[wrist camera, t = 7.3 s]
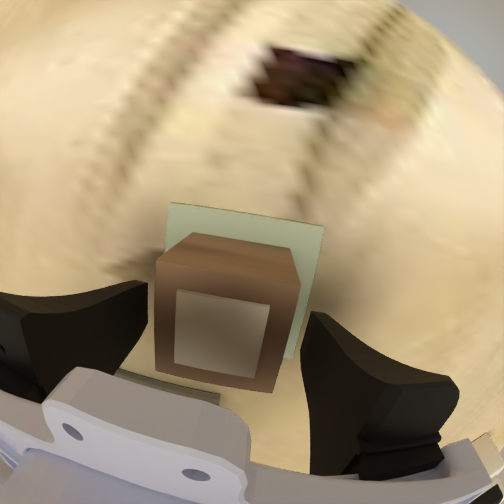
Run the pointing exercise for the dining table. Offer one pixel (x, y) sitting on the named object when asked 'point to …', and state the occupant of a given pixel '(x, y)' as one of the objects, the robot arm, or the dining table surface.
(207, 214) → the pad
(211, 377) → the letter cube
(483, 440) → the medicine bottle
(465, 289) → the dining table surface
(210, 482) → the robot arm
